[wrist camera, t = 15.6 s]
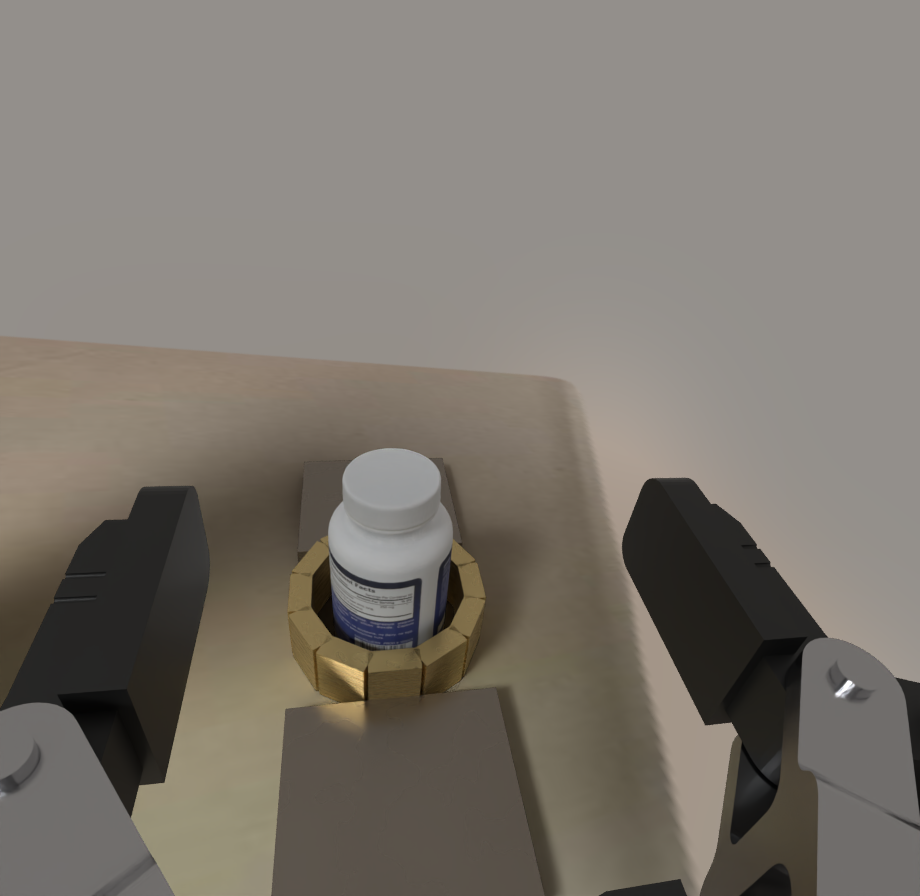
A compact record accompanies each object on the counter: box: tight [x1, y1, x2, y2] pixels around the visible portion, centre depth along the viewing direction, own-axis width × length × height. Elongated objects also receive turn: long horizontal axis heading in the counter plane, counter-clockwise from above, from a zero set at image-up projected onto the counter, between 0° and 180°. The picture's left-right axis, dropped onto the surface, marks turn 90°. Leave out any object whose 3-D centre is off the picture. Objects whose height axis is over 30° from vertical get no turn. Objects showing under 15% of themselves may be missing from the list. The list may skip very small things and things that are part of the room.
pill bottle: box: [328, 448, 453, 651], centre depth 27 cm, size 5×5×10 cm
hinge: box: [271, 458, 545, 896], centre depth 29 cm, size 9×25×3 cm, turn 9°
